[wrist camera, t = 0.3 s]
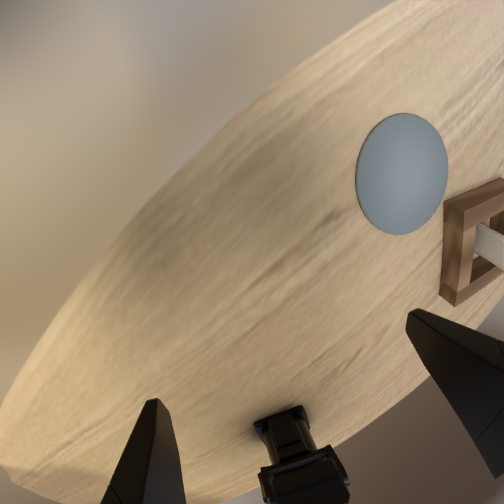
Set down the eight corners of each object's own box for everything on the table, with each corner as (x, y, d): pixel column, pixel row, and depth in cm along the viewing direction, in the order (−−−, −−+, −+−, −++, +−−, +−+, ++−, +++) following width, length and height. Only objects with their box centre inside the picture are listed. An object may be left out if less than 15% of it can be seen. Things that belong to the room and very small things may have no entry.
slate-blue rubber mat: (446, 213, 27) (449, 215, 26) (363, 249, 26) (366, 251, 26) (439, 107, 22) (442, 108, 21) (344, 124, 21) (346, 125, 21)
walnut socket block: (493, 259, 32) (508, 269, 30) (439, 294, 32) (454, 307, 29) (500, 177, 27) (518, 184, 24) (443, 201, 26) (464, 211, 23)
